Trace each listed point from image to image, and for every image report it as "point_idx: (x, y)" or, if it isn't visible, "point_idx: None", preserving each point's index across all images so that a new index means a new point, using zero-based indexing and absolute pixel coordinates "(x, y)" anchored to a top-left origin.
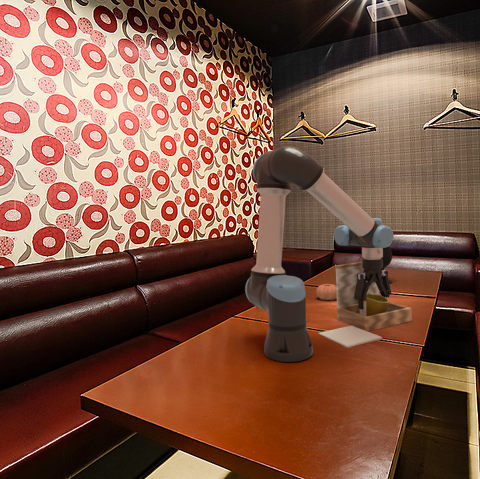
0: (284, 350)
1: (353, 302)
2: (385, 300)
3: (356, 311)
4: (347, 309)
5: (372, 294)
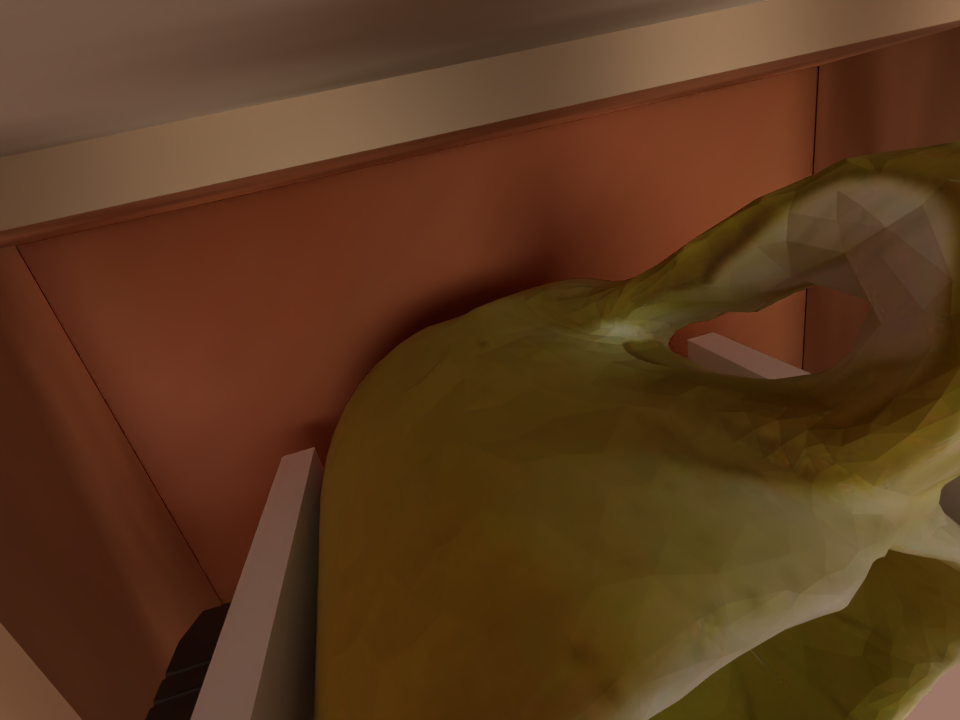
0: None
1: (250, 92)
2: (859, 650)
3: (354, 164)
4: (50, 225)
5: (924, 492)
